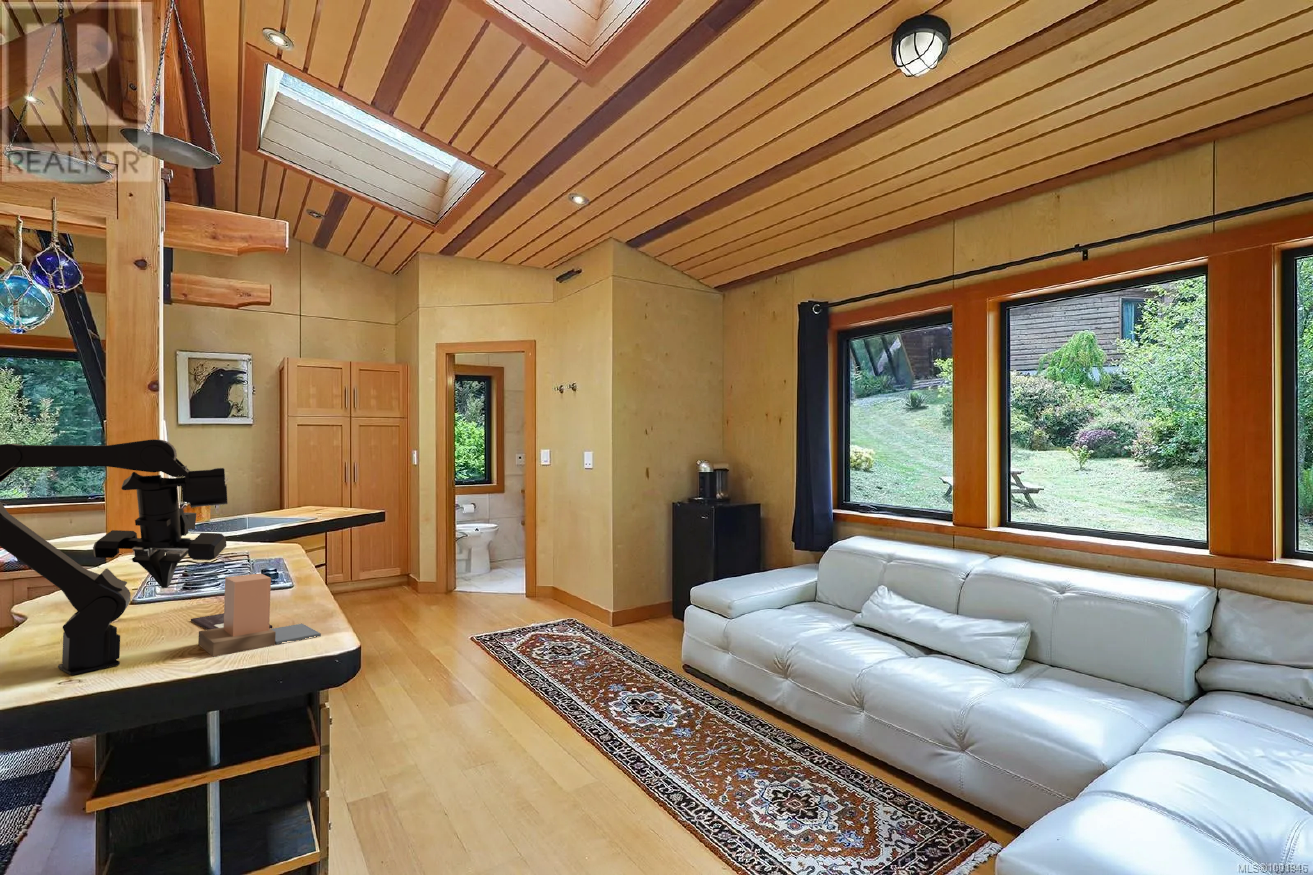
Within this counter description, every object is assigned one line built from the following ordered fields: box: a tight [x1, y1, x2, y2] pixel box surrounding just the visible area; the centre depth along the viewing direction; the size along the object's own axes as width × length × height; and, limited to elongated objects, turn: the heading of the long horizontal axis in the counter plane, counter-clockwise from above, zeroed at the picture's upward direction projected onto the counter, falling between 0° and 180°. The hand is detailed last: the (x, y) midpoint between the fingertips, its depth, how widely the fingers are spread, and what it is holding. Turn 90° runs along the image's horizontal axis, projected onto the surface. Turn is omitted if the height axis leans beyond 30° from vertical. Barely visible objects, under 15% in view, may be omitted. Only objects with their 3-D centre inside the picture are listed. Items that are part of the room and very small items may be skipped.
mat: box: [271, 623, 322, 645], centre depth 129 cm, size 8×10×1 cm
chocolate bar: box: [190, 612, 273, 630], centre depth 135 cm, size 9×1×18 cm
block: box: [223, 573, 272, 636], centre depth 123 cm, size 6×6×10 cm
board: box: [197, 627, 276, 657], centre depth 122 cm, size 10×10×2 cm
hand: (165, 586), depth 118 cm, fingers closed
